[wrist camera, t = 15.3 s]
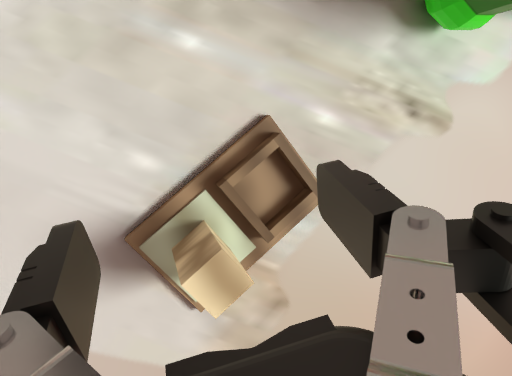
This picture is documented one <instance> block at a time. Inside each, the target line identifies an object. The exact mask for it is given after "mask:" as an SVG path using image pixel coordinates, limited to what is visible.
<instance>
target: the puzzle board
mask: <svg viewBox="0 0 512 376" xmlns="http://www.w3.org/2000/svg"><path fill="white" fill-rule="evenodd" d="M317 205H318V195H317V179H316V178H315V176H314V175H313V174H312V172H311V171H310V169H309V168H308V167H307V165H306V164H305V163H304V161H303V160H302V159H301V157H300V156H299V154H298V153H297V152H296V150H295V149H294V148H293V146H292V145H291V144H290V142H289V141H288V139H287V138H286V137H285V135H284V134H283V133H282V131H281V130H280V129H279V127H278V126H277V124H276V123H275V122H274V120H273V119H272V118H271V116H270V115H266V116H265V117H264V118H263V119H262V120H260V121H259V122H258V123H257V124H256V125H255V126H253V127H252V128H251V129H250V130H249V131H248V132H246V133H245V134H244V135H243V136H242V137H241V138H240V139H238V140H237V141H236V142H235V143H234V144H233V145H231V146H230V147H229V148H228V149H227V150H226V151H224V152H223V153H222V154H221V155H220V156H219V157H217V158H216V159H215V160H214V161H213V162H212V163H211V164H209V165H208V166H207V167H206V168H205V169H204V170H202V171H201V172H200V173H199V174H198V175H197V176H195V177H194V178H193V179H192V180H191V181H190V182H188V183H187V184H186V185H185V186H184V187H183V188H182V189H180V190H179V191H178V192H177V193H176V194H175V195H173V196H172V197H171V198H170V199H169V200H168V201H166V202H165V203H164V204H163V205H162V206H161V207H160V208H158V209H157V210H156V211H155V212H154V213H153V214H151V215H150V216H149V217H148V218H147V219H146V220H144V221H143V222H142V223H141V224H140V225H139V226H137V227H136V228H135V229H134V230H133V231H132V232H131V233H129V234H128V235H127V236H126V237H125V241H126V242H127V243H128V244H129V245H130V246H131V247H132V248H133V249H135V250H136V251H137V252H138V253H139V254H140V255H141V256H142V257H143V258H144V259H145V260H146V261H147V262H148V263H149V264H150V265H151V266H152V267H154V268H155V269H156V270H157V271H158V272H159V273H160V274H161V275H162V276H163V277H164V278H165V279H166V280H167V281H168V282H169V283H170V284H171V285H172V286H174V287H175V288H176V289H177V290H178V291H179V292H180V293H181V294H182V295H183V296H184V297H185V298H186V299H187V300H188V301H189V302H190V303H191V304H193V305H194V306H195V307H196V308H197V309H198V310H199V311H200V312H202V311H203V310H204V309H205V308H204V307H203V306H202V305H201V304H200V303H199V302H198V301H197V300H196V299H194V298H193V297H192V296H191V295H190V294H189V293H188V292H187V291H186V290H185V289H184V288H183V287H182V286H181V283H180V280H179V276H178V272H177V268H176V264H175V260H174V257H173V253H172V248H173V247H174V246H175V245H176V244H177V243H179V242H180V241H181V240H182V239H183V238H184V237H185V236H186V235H188V234H189V233H190V232H191V231H192V230H193V229H194V228H196V227H197V226H198V225H199V224H200V223H201V222H202V221H203V220H204V221H205V222H206V223H207V224H208V225H209V226H210V227H211V229H212V230H213V231H214V232H215V233H216V234H217V235H218V236H219V237H220V238H221V239H222V240H223V241H224V243H225V244H226V245H227V246H228V247H229V248H230V249H231V251H232V252H233V253H234V255H235V256H236V258H237V259H238V261H239V262H240V263H241V265H242V266H243V268H244V269H245V271H247V270H248V269H249V268H250V267H251V266H252V265H253V264H254V263H255V262H256V261H257V260H259V259H260V258H261V257H262V256H263V255H264V254H265V253H266V252H267V251H268V250H269V249H271V248H272V247H273V246H274V245H275V244H276V243H277V242H278V241H279V240H280V239H281V238H282V237H284V236H285V235H286V234H287V233H288V232H289V231H290V230H291V229H292V228H293V227H294V226H296V225H297V224H298V223H299V222H300V221H301V220H302V219H303V218H304V217H305V216H306V215H307V214H309V213H310V212H311V211H312V210H313V209H314V208H315V207H316V206H317Z"/></svg>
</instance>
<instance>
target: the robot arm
mask: <svg viewBox="0 0 512 376" xmlns="http://www.w3.org/2000/svg"><path fill="white" fill-rule="evenodd" d="M317 195H318V207H319V211H320V214H321V216H322V218H323V219H324V221H325V222H326V223H327V224H328V226H329V227H330V228H331V229H332V231H333V232H334V233H335V234H336V236H337V237H338V238H339V239H340V241H341V242H342V243H343V244H344V246H345V247H346V248H347V249H348V251H349V252H350V253H351V255H352V256H353V257H354V258H355V260H356V261H357V262H358V263H359V265H360V266H361V267H362V268H363V269H364V271H365V272H366V273H367V275H368V276H369V277H370V278H374V277H377V276H380V275H382V281H381V287H380V294H379V302H378V308H377V315H376V321H375V328H374V332H372V331H369V330H365V329H361V328H356V327H349V326H348V327H347V326H334V325H333V323H332V322H331V320H330V318H329V316H328V315H324V316H321V317H318V318H315V319H312V320H308V321H305V322H302V323H299V324H295V325H292V326H289V327H288V328H286V329H284V330H283V331H281V332H279V333H278V334H276V335H274V336H273V337H271V338H269V339H267V340H266V341H264V342H262V343H261V344H259V345H257V346H255V347H253V348H249V349H237V350H225V351H212V352H206V353H202V354H199V355H196V356H193V357H190V358H186V359H183V360H180V361H177V362H174V363H170V364H167V365H165V367H166V376H466V375H464V374H462V365H461V351H460V339H459V326H458V314H457V301H456V293H463V294H464V295H465V296H466V297H467V298H468V299H469V300H470V301H471V303H473V305H474V306H475V307H476V308H477V309H478V310H479V311H480V312H481V313H482V314H483V315H484V316H485V317H486V318H487V319H488V320H489V321H490V322H491V323H492V324H493V325H494V326H495V327H496V328H497V330H498V331H499V332H500V333H501V334H502V335H503V336H504V337H505V338H506V339H507V340H508V341H509V342H510V343H511V344H512V204H509V203H505V202H494V201H492V202H484V203H481V204H478V205H477V206H476V207H475V208H474V211H473V216H472V219H454V220H453V219H452V220H445V218H444V217H443V216H442V215H441V214H440V213H439V212H437V211H435V210H433V209H431V208H428V207H423V206H407V205H406V204H405V203H403V202H402V201H401V200H400V199H399V198H397V197H396V196H395V195H394V194H392V193H391V192H390V191H389V190H387V189H385V187H384V186H382V185H381V184H380V183H378V182H377V181H376V180H375V179H374V178H372V177H371V176H370V175H369V174H366V173H363V172H361V171H358V170H351V169H350V168H348V167H347V166H346V165H345V164H344V163H343V162H341V161H340V160H336V161H331V162H327V163H323V164H319V165H318V166H317ZM100 277H101V271H100V265H99V261H98V258H97V256H96V253H95V251H94V249H93V246H92V244H91V242H90V239H89V237H88V235H87V232H86V230H85V228H84V226H83V224H82V222H81V221H79V220H77V221H73V222H69V223H64V224H60V225H56V226H53V227H52V229H51V232H50V234H49V237H48V239H47V242H46V244H43V245H39V246H38V247H37V248H36V249H35V250H34V251H33V252H32V253H31V254H30V255H29V256H28V257H27V258H26V260H25V262H24V265H23V267H22V269H21V272H20V274H19V276H18V278H17V283H15V285H14V287H13V289H12V291H11V294H10V296H9V298H8V300H7V303H6V305H5V307H4V309H3V311H2V314H1V315H0V376H100V374H99V373H98V372H97V371H95V370H94V369H93V368H92V367H91V366H90V365H89V364H88V363H87V360H88V354H89V347H90V341H91V335H92V328H93V322H94V315H95V309H96V303H97V296H98V290H99V284H100Z"/></svg>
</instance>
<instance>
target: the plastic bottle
mask: <svg viewBox="0 0 512 376" xmlns="http://www.w3.org/2000/svg"><path fill="white" fill-rule="evenodd" d="M425 5H426V8H427V12H428V13H429V14H430V15H431V16H432V17H433V18H434V19H435V20H436V21H437V22H438V23H439V24H440V25H441V26H442V27H443V28H445V29H449V30H473V29H477V28H480V27H481V26H483V25H484V24H485V23H487V22H488V21H489V20H490V19H491V18H492V17H494V16H495V15H496V14H498V13H502V12H505V11H509V10H512V0H425Z"/></svg>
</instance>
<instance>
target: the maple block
mask: <svg viewBox="0 0 512 376" xmlns="http://www.w3.org/2000/svg"><path fill="white" fill-rule="evenodd" d="M172 253H173V257H174V260H175V264H176V268H177V272H178V276H179V280H180V283H181V286H182V287H183V288H184V289H185V290H186V291H187V292H188V293H189V294H190V295H191V296H192V297H193V298H194V299H196V300H197V301H198V302H199V303H200V304H201V305H202V306H203V307H204V308H205V309H206V310H207V311H208V312H209V313H210V314H211V315H212V316H213V317H214V318H215V319H216V318H217V317H218V316H219V315H220V314H221V313H223V312H224V311H225V310H226V309H227V308H228V307H229V306H230V305H231V304H232V303H233V302H234V301H235V300H236V299H238V298H239V297H240V296H241V295H242V294H243V293H244V292H245V291H246V290H247V289H248V288H249V287H250V286H252V285H253V284H254V282H253V280H252V279H251V278H250V276H249V275H248V273H247V272H246V271H245V269H244V268H243V266H242V265H241V263H240V262H239V261H238V259H237V258H236V256H235V255H234V253H233V252H232V251H231V249H230V248H229V247H228V246H227V245H226V244H225V243H224V241H223V240H222V239H221V238H220V237H219V236H218V235H217V234H216V233H215V232H214V231H213V230H212V229H211V227H210V226H209V225H208V224H207V223H206V222H205V221H204V220H203V221H202V222H201V223H200V224H199V225H198V226H197V227H196V228H194V229H193V230H192V231H191V232H190V233H189V234H188V235H186V236H185V237H184V238H183V239H182V240H181V241H180V242H179V243H177V244H176V245H175V246H174V247H173V248H172Z"/></svg>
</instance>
